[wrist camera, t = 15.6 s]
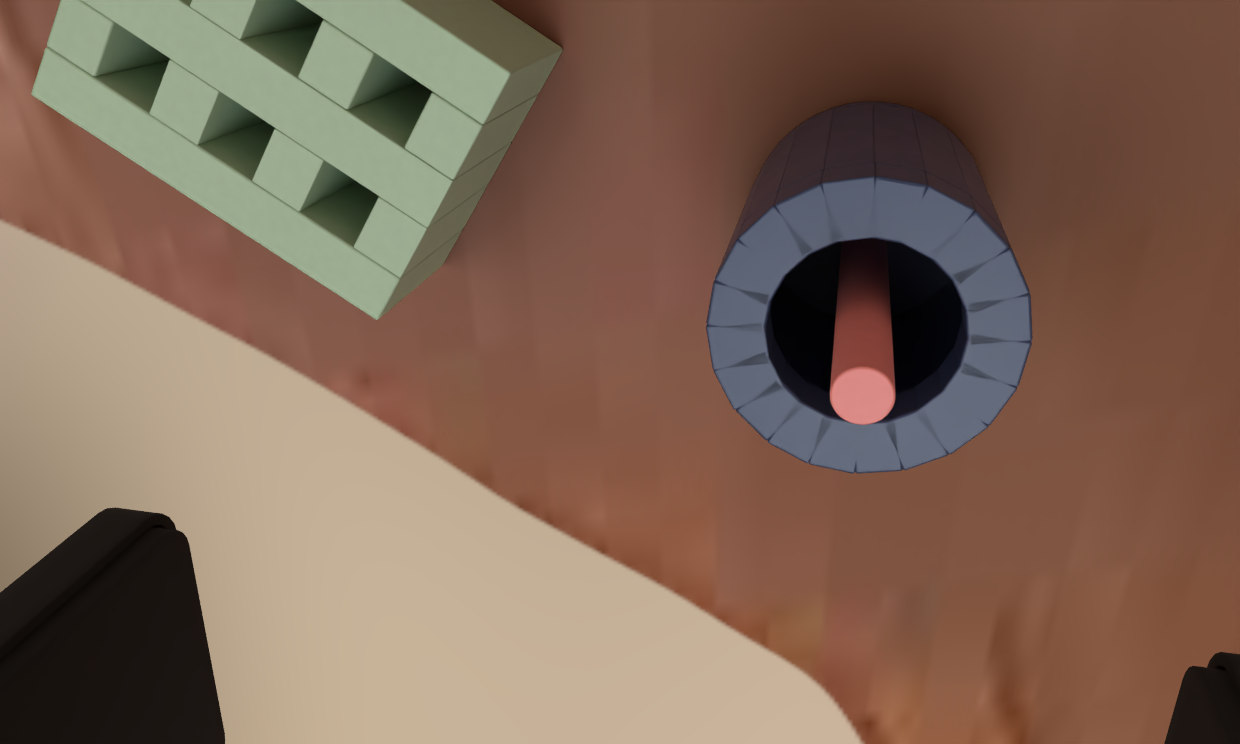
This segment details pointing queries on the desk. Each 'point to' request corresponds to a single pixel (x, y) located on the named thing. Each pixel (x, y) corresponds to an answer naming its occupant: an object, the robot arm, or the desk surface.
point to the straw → (863, 335)
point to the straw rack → (309, 118)
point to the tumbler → (918, 282)
